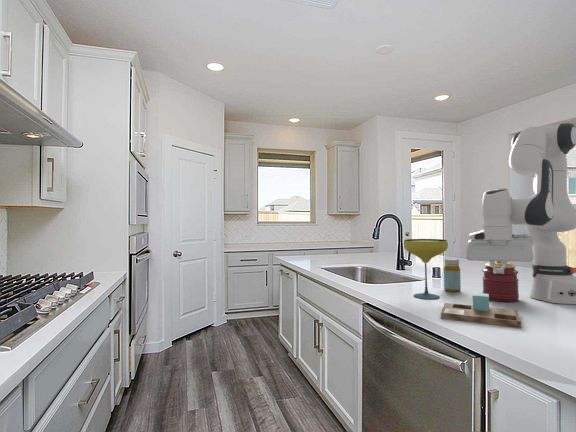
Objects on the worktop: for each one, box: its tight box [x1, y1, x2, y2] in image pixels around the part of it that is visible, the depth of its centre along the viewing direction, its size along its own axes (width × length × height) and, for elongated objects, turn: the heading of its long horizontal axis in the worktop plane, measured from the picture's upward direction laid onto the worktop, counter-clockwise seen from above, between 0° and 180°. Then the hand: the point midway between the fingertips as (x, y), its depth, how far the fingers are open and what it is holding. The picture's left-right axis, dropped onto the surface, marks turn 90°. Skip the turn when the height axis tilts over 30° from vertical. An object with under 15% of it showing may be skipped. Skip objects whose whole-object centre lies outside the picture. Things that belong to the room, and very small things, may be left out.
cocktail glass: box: [403, 238, 449, 301], centre depth 148 cm, size 18×18×25 cm
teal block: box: [472, 292, 490, 311], centre depth 120 cm, size 5×5×5 cm
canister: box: [481, 261, 520, 303], centre depth 142 cm, size 13×13×18 cm
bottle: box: [443, 257, 462, 293], centre depth 159 cm, size 7×7×15 cm
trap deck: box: [440, 302, 522, 329], centre depth 117 cm, size 23×15×2 cm, turn 60°
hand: (498, 273), depth 118 cm, fingers closed
